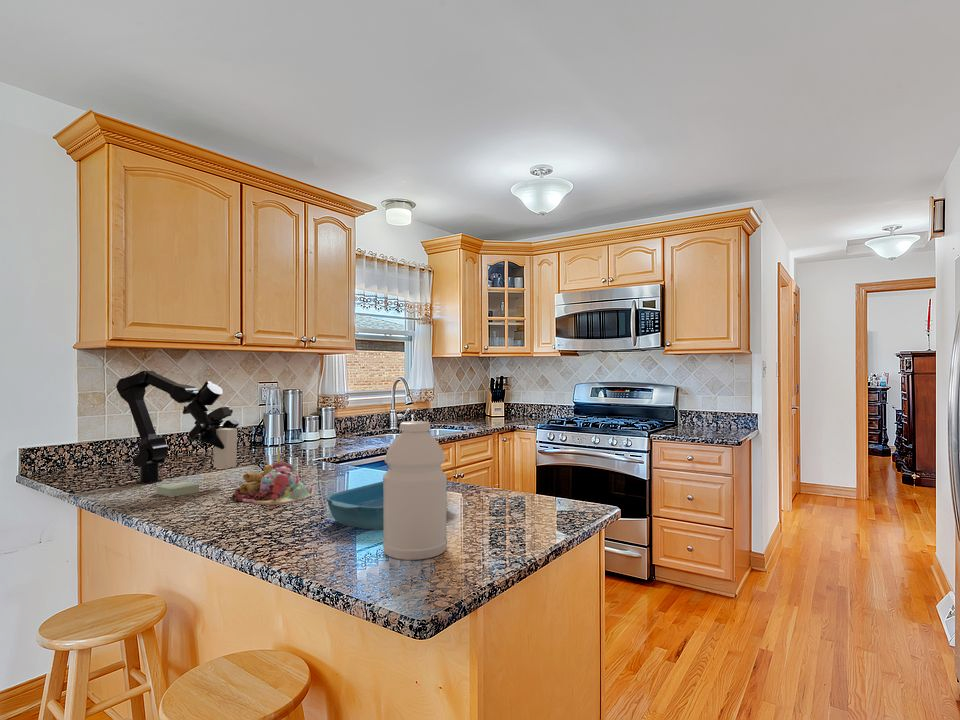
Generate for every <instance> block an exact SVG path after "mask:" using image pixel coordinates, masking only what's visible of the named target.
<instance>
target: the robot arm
mask: <svg viewBox="0 0 960 720" xmlns="http://www.w3.org/2000/svg"><path fill="white" fill-rule="evenodd" d="M149 386H152V387H154V388H156V389H158V390H161V391H163V392H165V393H167V394H168V395H169V396H170V398H171V399H172V400H174V401H175V402H176V403H178V404H187V405H183V409H182V414H183V415H187V414H190V415H191V416H192V418H193V419H194V420H195V422H194V424H195V425H194V426H193V428H192V429H191V430H190V431H189V432H188V438H189V439H190V440H191V442H193V441H198V440H199V442H203V443H206V444H209V445H211V446H213V447H214V446H215V447H218V448H220V449H224V445H223V443H222V442H221V440H220V439H219V437H218V436H217V434H216V429H222V428H233V429H237V427H238V426H239V425H240V423H239V422H238V420H237V419H228V420H225V419H226V418H228V417H231V416H232V414H233V413H234V412H233V411H234V410H233V408H232V407H231V406H230V405H225V406H221V407H219V408H216V409H214V410H211V409H210V408H209V406H213V405H214V404H215V402H216V401H217V400H218V399H219V398H220V397H221V396H222V394H223V392H224V390H223V389H222V387H221V386H219V385H217V384H215V383H213V382H212V381H208V380H207V381H204V383H203V385H202V387H201V388H200V389H199V388H198V387H196V386H194V385H189V384H183V383H178V382H176V381H174V380H173V379H172V380H171V379H170V378H168V377H166V376H163V375H162V374H159V373H157V372H155V371H154V370H141V371H140V372H138V373H135V374H132V375H128V376H126V377H121V378H119V379H118V380H117V383H116V386H115V387H116V390H117V392H118V394H119V397H120V398H121V399H122V400H124V402H126V403H127V404H128V406H129V410H130V413H131V416H132V418H133V421H134V424H135V426H136V430H137V432H138V435H139V438H140V441H139V444H138V452H139V453H137V455H136V456H135V457H134V458H133V460H132V462H133V466H134V467H139V479H136V480H135V483H140V484H149V483H155V482H162V481H163V479H162V478H159V467H160V466H159V464H164V463H165V460H166V457H167V455H168V453H169V450H168V447H169V445H168V444H167V441H166V438H165V437H164V436H159V435H158V434H157V433H156V430H155V428H154V425H153V422H152V419H151V416H150V413H149V410H148V408H147V405H146V402H145V400H144V398H145V395H146V388H148V387H149ZM224 421H225V422H224ZM222 423H223V424H222ZM199 435H200V436H199Z"/></svg>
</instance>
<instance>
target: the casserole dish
mask: <svg viewBox="0 0 960 720" xmlns="http://www.w3.org/2000/svg"><path fill="white" fill-rule="evenodd" d="M448 489H449V484H447V490H446V493H448ZM326 501H327V505H328V508H329V510H330V513H331V516H332V517H333V519H334V520H335V521H336V522H338V523H339V524H341V525H345V526H350V527H354V528H358V529H365V530H372V531H375V530H383V480H382V481H378V482H375V483H370V484H367V485H362V486H359V487H354V488H351V489H345V490H342V491H337V492H335V493H332V494H330V495H328V496H327V497H326Z"/></svg>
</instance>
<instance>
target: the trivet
mask: <svg viewBox="0 0 960 720" xmlns="http://www.w3.org/2000/svg"><path fill="white" fill-rule="evenodd" d="M197 493H200V484H199V483H193V482H189V481H181V482H173V483H168V484H163V485H162V484H161V485H157V486H156V495H159V496H163V495H164V496H163V497H167V496H168V498H175V496H176V497H181V496H185V495H191V494H197ZM180 495H181V496H180Z"/></svg>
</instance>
